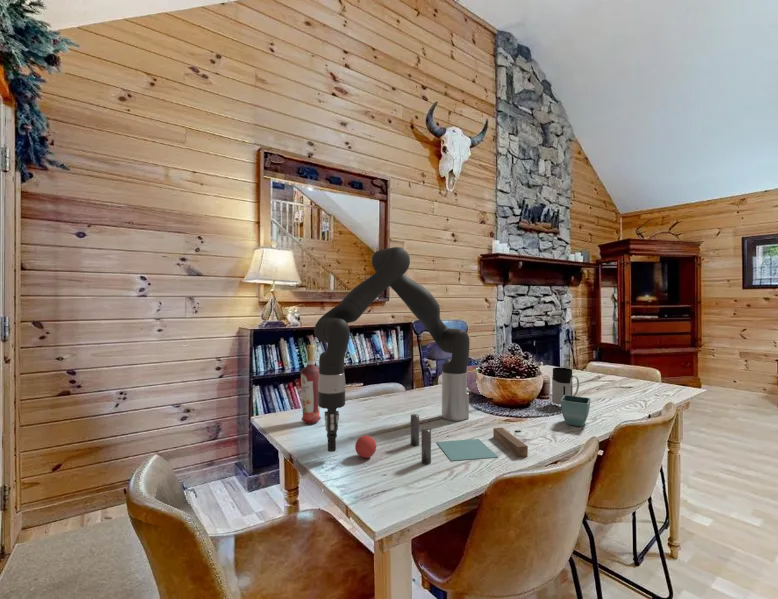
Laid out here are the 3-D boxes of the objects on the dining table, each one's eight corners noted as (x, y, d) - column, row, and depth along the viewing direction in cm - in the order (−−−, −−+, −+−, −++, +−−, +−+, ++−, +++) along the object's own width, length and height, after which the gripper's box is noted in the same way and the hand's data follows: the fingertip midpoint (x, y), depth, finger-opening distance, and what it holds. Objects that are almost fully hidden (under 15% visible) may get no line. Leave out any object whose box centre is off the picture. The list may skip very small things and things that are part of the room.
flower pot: (588, 429, 135) (588, 403, 135) (560, 425, 139) (560, 400, 139) (590, 422, 142) (590, 397, 142) (564, 418, 147) (564, 394, 147)
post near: (429, 460, 110) (429, 428, 110) (432, 464, 108) (432, 431, 108) (420, 460, 110) (420, 428, 110) (422, 464, 107) (422, 431, 107)
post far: (417, 442, 123) (417, 414, 123) (420, 445, 121) (420, 416, 121) (409, 443, 123) (409, 414, 123) (411, 446, 120) (411, 417, 120)
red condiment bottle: (325, 421, 144) (325, 345, 143) (308, 426, 138) (308, 347, 138) (313, 417, 149) (313, 343, 148) (296, 422, 143) (296, 345, 143)
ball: (374, 452, 116) (374, 431, 116) (377, 460, 110) (377, 439, 110) (354, 453, 115) (354, 433, 115) (356, 462, 109) (356, 440, 109)
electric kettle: (564, 401, 170) (564, 366, 170) (587, 411, 156) (588, 373, 156) (546, 402, 168) (546, 367, 168) (568, 412, 154) (568, 374, 154)
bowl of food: (453, 392, 185) (453, 368, 185) (482, 387, 196) (482, 363, 196) (486, 402, 169) (486, 375, 168) (515, 395, 180) (516, 370, 180)
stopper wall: (502, 436, 128) (502, 427, 128) (527, 456, 113) (527, 446, 113) (493, 437, 128) (493, 428, 128) (517, 457, 112) (517, 446, 112)
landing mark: (478, 439, 126) (478, 438, 126) (498, 457, 112) (498, 456, 112) (436, 442, 124) (436, 441, 124) (451, 461, 110) (451, 460, 110)
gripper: (346, 394, 105) (346, 459, 105) (343, 383, 118) (343, 441, 118) (318, 395, 103) (318, 461, 104) (318, 384, 117) (318, 442, 117)
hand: (331, 450), depth 111 cm, fingers closed
